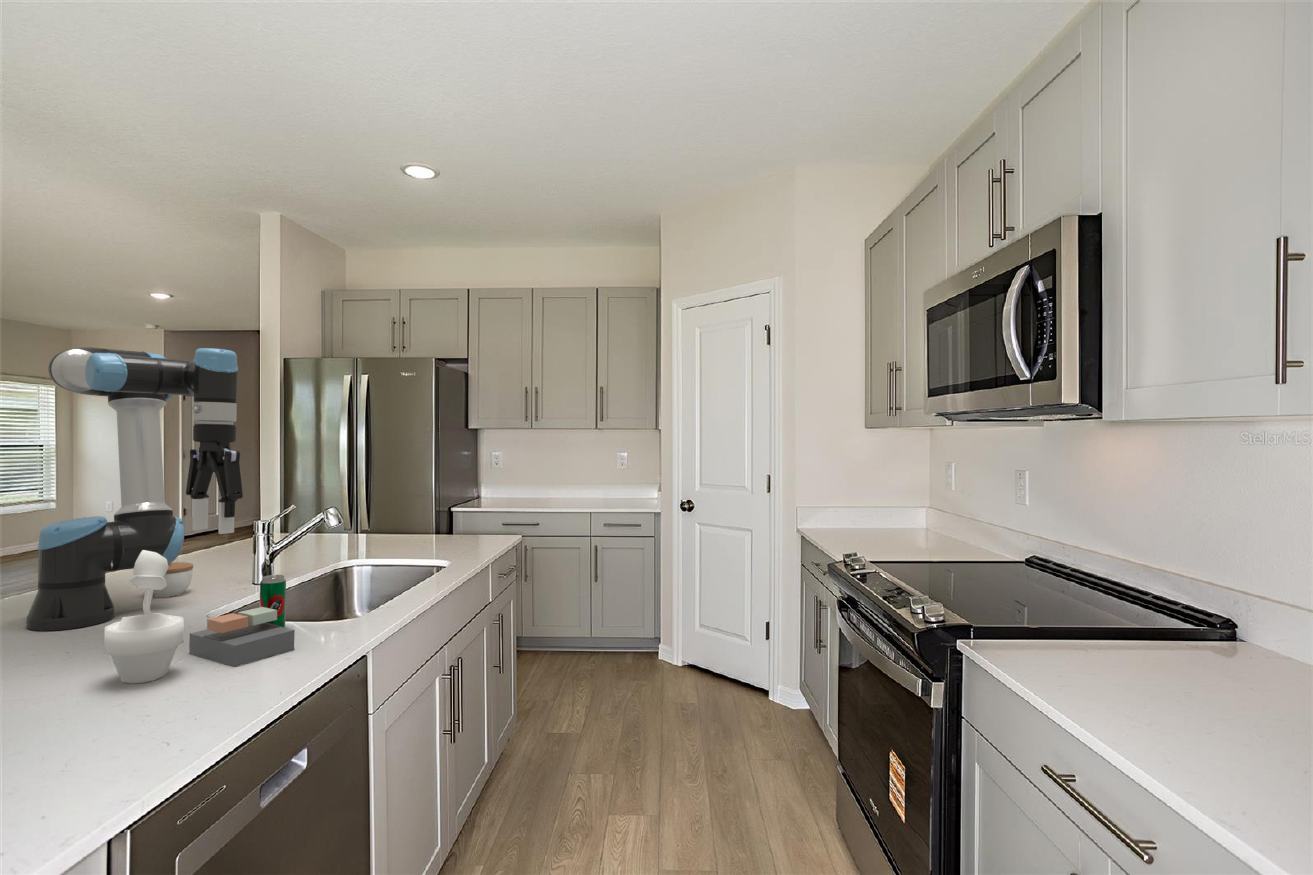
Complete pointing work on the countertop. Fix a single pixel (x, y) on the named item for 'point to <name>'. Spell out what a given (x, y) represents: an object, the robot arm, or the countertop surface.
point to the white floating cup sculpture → (145, 628)
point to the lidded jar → (176, 579)
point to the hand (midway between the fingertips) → (213, 531)
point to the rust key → (227, 623)
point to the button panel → (242, 643)
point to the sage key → (259, 615)
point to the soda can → (274, 596)
